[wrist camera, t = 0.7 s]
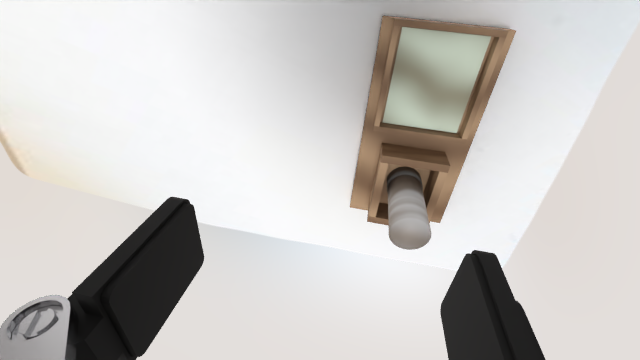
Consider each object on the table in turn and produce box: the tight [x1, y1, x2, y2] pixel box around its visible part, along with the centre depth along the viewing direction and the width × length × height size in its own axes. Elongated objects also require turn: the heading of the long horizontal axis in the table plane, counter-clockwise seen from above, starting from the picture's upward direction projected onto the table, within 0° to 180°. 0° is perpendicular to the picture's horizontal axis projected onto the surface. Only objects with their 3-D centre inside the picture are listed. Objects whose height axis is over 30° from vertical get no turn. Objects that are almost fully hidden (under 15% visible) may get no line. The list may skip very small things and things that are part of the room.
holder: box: [350, 16, 516, 249], centre depth 28 cm, size 21×11×10 cm, turn 175°
